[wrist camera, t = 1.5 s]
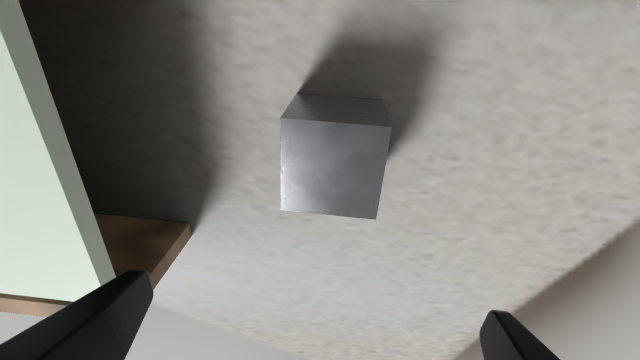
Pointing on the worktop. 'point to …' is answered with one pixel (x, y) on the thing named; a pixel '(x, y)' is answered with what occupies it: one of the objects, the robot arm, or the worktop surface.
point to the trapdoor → (40, 183)
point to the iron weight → (333, 155)
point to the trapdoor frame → (119, 256)
